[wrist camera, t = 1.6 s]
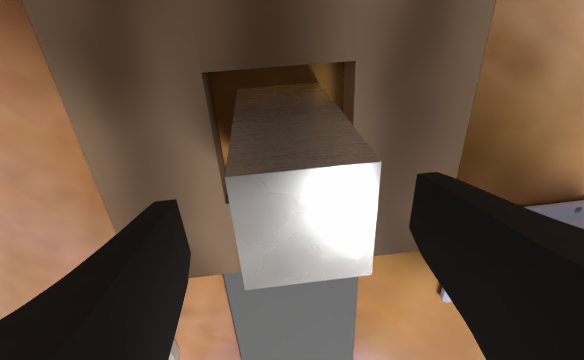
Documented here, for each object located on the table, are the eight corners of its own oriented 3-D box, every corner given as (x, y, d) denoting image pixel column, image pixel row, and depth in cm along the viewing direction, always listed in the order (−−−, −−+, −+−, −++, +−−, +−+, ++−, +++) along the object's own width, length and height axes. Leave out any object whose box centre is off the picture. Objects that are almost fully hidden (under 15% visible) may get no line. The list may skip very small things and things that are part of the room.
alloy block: (318, 82, 16) (381, 161, 8) (319, 155, 18) (371, 274, 10) (237, 88, 16) (224, 177, 8) (247, 162, 18) (244, 290, 10)
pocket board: (481, -78, 14) (515, -89, 12) (425, 227, 22) (441, 247, 20) (31, -55, 12) (-5, -63, 11) (146, 259, 20) (136, 284, 19)
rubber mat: (358, 247, 22) (359, 250, 22) (351, 369, 29) (352, 373, 28) (222, 263, 21) (221, 266, 21) (248, 384, 28) (248, 388, 28)
